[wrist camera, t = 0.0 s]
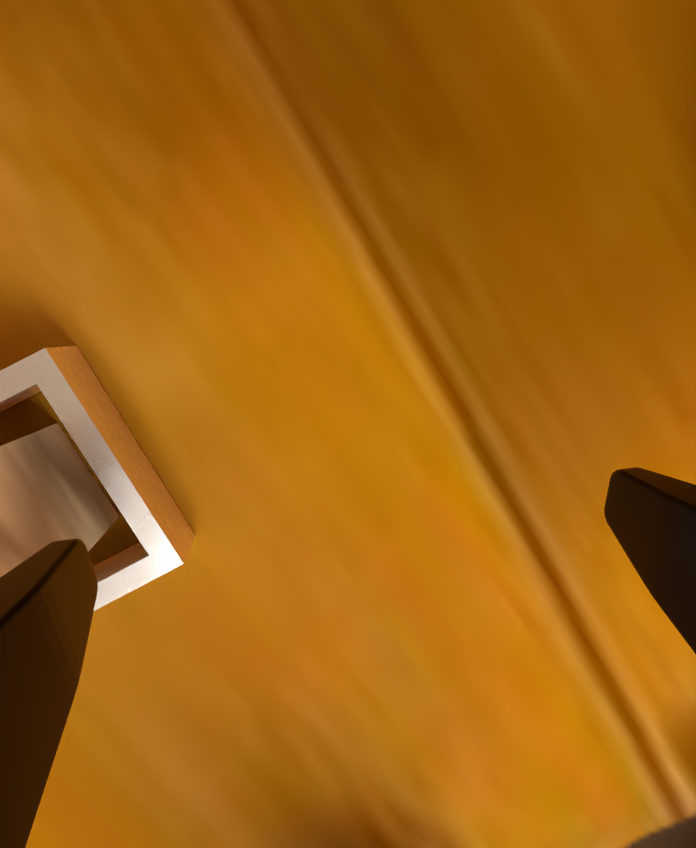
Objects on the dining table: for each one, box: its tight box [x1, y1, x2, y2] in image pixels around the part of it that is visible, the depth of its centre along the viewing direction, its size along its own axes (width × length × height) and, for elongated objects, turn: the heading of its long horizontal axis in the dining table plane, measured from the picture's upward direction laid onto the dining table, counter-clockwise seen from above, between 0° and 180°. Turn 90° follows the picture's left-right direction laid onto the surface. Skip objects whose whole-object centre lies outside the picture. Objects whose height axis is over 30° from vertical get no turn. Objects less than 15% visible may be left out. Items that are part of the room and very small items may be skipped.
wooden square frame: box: [0, 346, 195, 611], centre depth 21 cm, size 10×10×3 cm
